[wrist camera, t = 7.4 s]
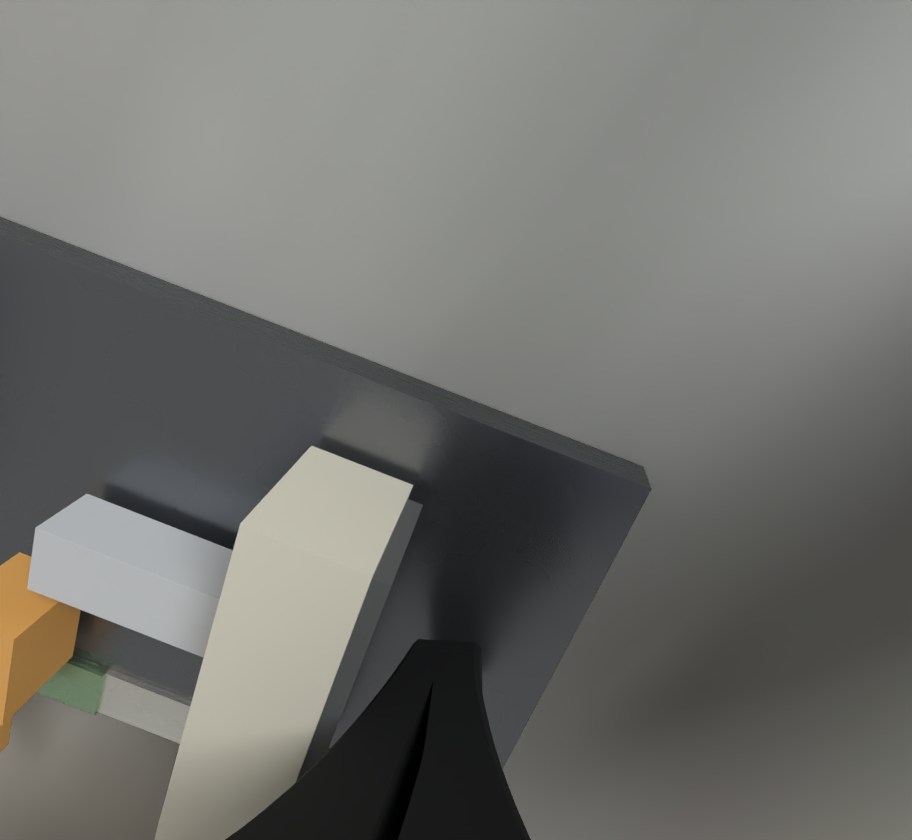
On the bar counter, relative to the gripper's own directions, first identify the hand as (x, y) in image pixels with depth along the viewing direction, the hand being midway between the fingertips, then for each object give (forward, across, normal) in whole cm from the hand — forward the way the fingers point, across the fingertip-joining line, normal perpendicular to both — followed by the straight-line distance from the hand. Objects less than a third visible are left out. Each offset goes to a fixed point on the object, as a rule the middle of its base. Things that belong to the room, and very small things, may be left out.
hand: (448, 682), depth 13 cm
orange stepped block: (0, +9, 0) cm, 9 cm away
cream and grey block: (0, +5, -2) cm, 5 cm away
